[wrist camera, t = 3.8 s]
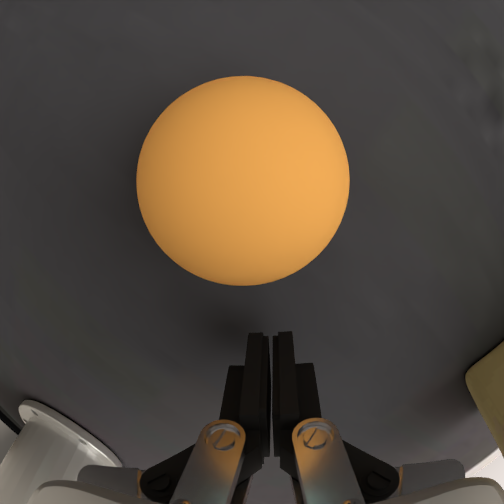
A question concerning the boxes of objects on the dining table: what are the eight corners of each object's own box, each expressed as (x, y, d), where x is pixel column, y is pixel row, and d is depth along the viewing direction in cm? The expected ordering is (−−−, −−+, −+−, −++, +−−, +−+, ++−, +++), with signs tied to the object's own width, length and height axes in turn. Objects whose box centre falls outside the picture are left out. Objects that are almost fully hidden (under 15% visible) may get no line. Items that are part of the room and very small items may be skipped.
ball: (242, 271, 11) (222, 369, 6) (147, 168, 10) (53, 192, 5) (354, 183, 10) (432, 220, 5) (257, 69, 8) (245, -6, 3)
